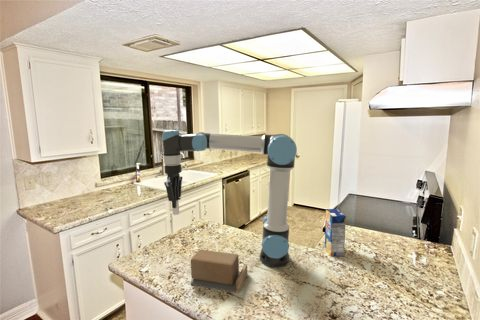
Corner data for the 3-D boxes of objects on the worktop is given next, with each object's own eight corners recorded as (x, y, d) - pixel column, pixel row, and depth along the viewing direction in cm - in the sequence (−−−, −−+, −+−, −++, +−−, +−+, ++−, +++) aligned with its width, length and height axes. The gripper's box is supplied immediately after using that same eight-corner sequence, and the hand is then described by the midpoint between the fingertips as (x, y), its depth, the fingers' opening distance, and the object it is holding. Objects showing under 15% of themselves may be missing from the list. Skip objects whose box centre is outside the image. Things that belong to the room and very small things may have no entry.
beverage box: (330, 256, 137) (332, 216, 134) (324, 246, 148) (325, 209, 145) (344, 256, 137) (345, 216, 133) (336, 246, 148) (338, 208, 144)
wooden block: (190, 279, 118) (233, 286, 113) (189, 259, 117) (232, 265, 111) (200, 267, 128) (239, 273, 122) (199, 248, 126) (239, 253, 121)
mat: (245, 273, 123) (245, 272, 123) (236, 292, 110) (236, 290, 110) (203, 267, 129) (203, 266, 129) (190, 284, 116) (190, 283, 116)
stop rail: (247, 273, 123) (247, 263, 122) (239, 292, 110) (238, 281, 109) (244, 273, 123) (244, 263, 122) (236, 292, 110) (236, 281, 109)
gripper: (172, 161, 127) (175, 208, 130) (157, 166, 114) (161, 218, 118) (186, 162, 125) (189, 209, 128) (173, 166, 112) (176, 219, 116)
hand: (176, 213), depth 123 cm, fingers closed
